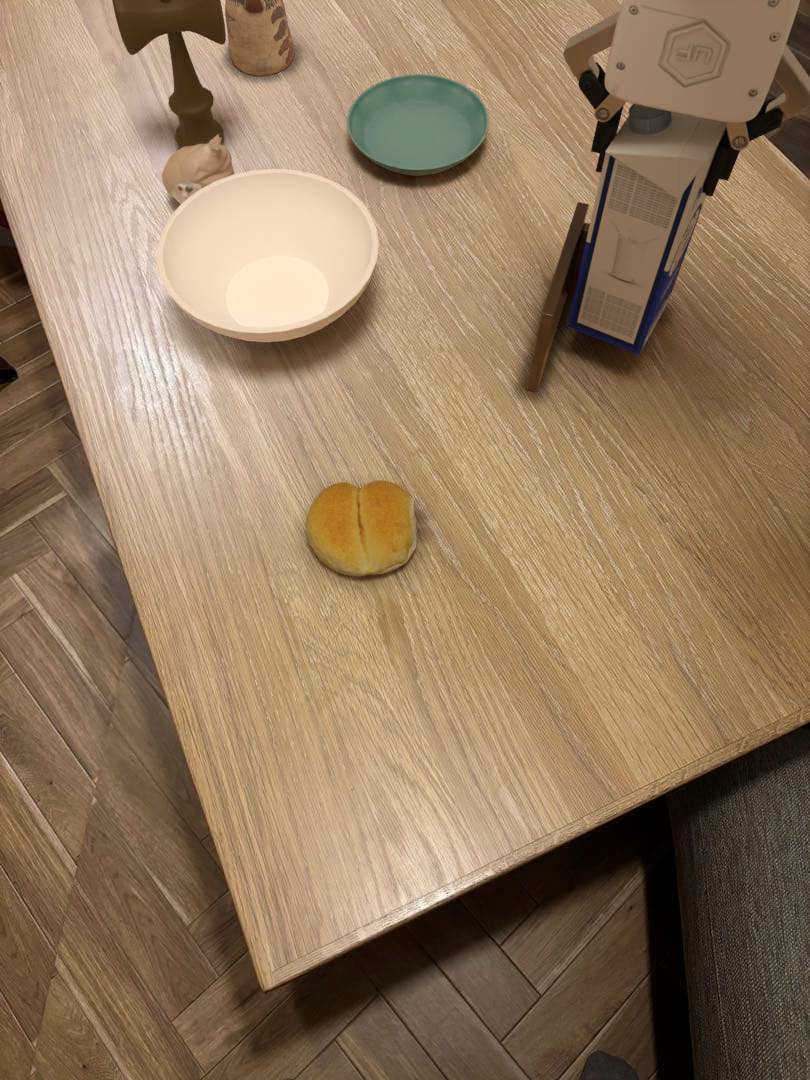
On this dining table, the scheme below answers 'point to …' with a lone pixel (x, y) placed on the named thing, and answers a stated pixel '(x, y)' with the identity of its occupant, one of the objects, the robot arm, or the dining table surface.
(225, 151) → the garlic bulb
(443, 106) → the saucer
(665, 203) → the milk carton
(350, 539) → the bread roll
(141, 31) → the kendama
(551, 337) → the shelf
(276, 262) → the bowl
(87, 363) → the dining table surface
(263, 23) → the figurine
